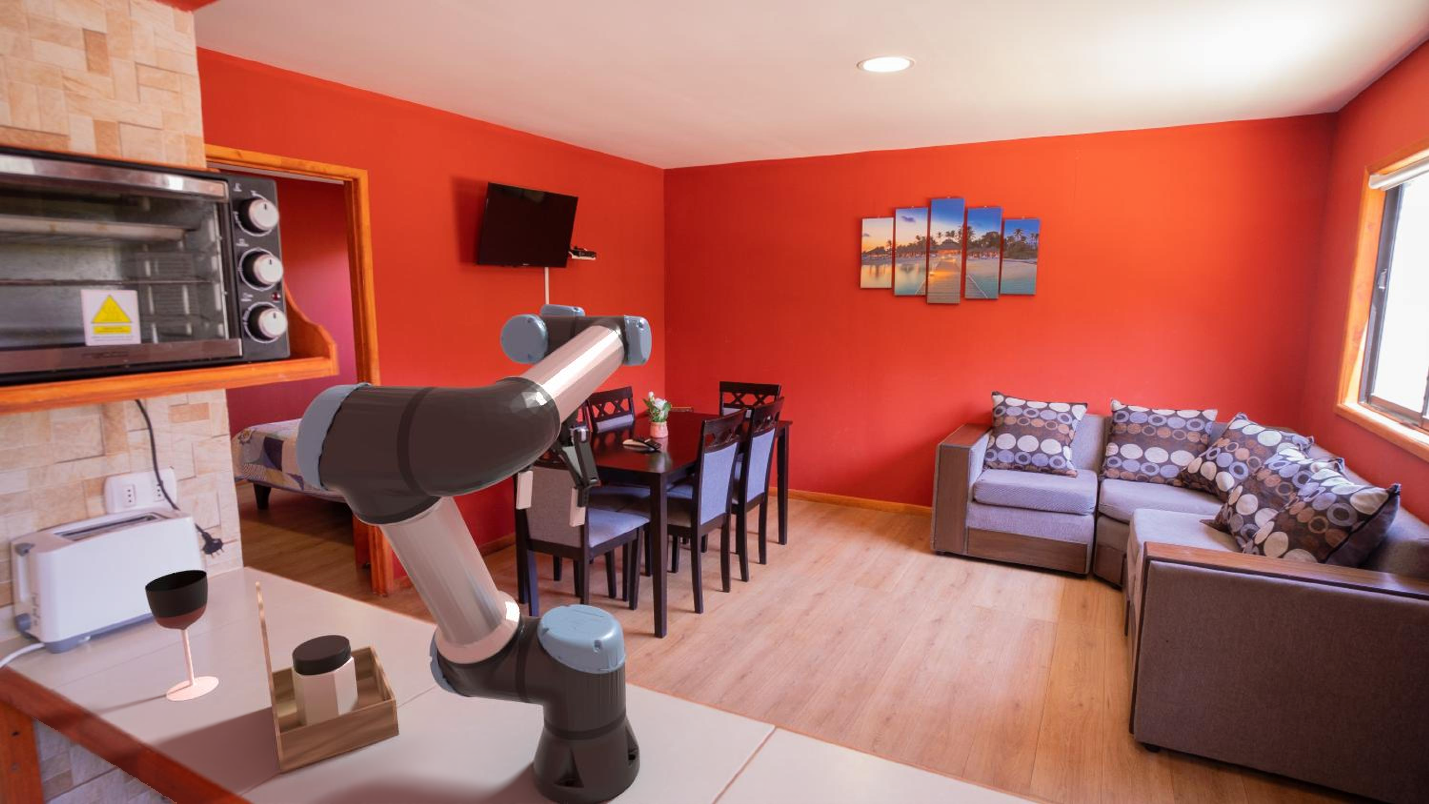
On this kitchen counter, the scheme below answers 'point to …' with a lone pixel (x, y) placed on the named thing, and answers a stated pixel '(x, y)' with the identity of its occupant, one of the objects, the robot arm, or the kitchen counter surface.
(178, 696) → the wineglass
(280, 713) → the open wooden box
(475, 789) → the kitchen counter surface
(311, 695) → the jar
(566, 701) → the robot arm
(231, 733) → the kitchen counter surface
